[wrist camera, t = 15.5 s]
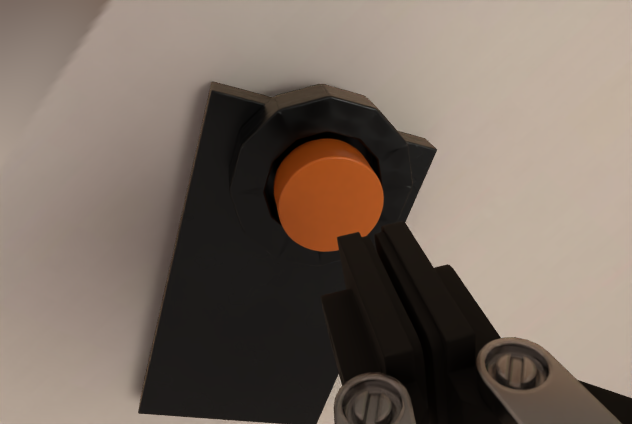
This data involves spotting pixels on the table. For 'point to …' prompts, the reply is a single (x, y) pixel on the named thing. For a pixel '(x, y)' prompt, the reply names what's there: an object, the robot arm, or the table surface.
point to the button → (326, 194)
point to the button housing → (262, 259)
